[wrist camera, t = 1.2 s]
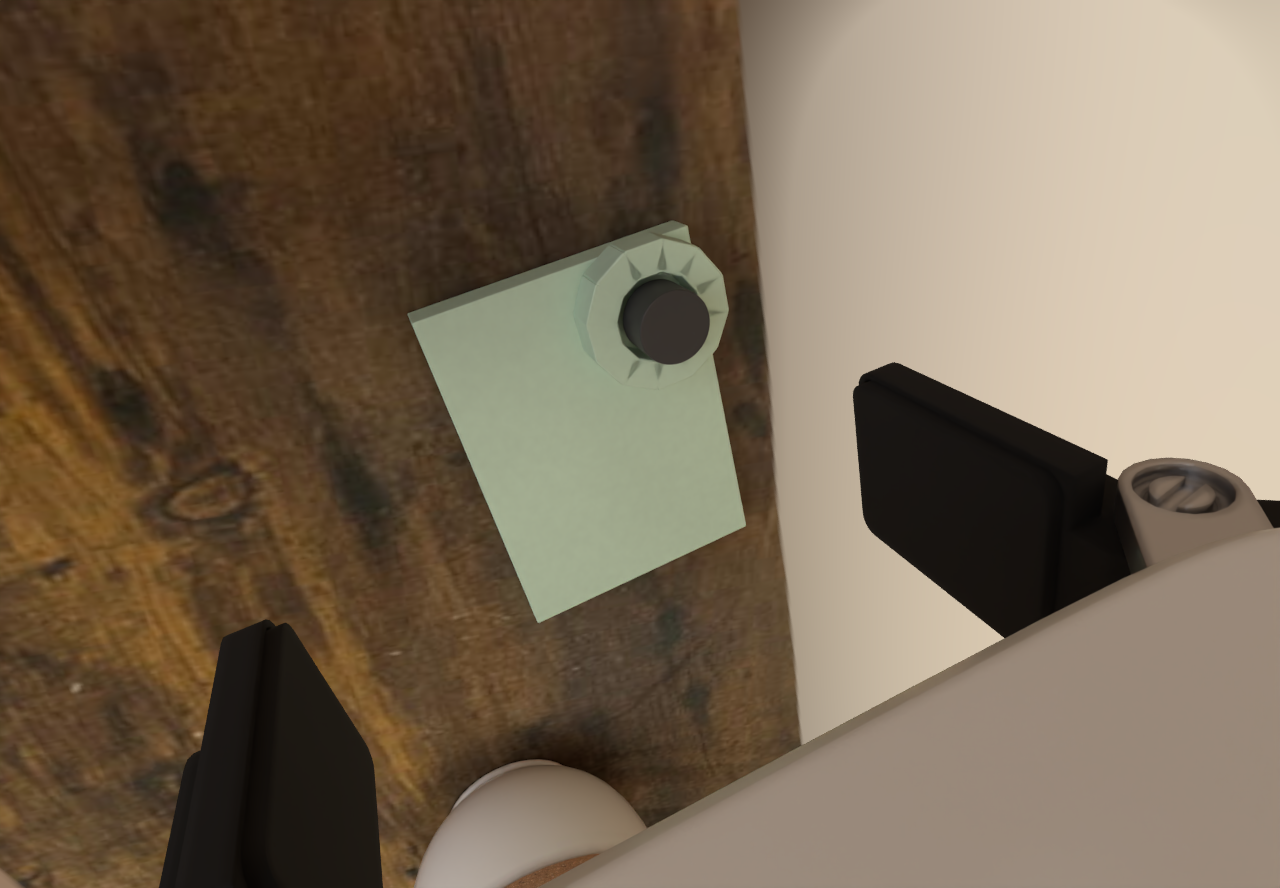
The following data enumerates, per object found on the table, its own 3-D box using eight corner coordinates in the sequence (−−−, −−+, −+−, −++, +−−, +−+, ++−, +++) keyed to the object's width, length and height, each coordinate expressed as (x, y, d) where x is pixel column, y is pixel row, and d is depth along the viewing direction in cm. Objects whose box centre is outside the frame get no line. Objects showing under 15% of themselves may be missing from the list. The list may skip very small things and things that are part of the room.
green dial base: (403, 304, 27) (412, 326, 24) (678, 208, 29) (713, 219, 27) (530, 605, 34) (547, 646, 32) (738, 509, 37) (770, 540, 34)
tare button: (614, 293, 27) (631, 305, 25) (681, 268, 27) (703, 278, 26) (631, 361, 28) (649, 375, 27) (695, 335, 29) (716, 349, 27)
